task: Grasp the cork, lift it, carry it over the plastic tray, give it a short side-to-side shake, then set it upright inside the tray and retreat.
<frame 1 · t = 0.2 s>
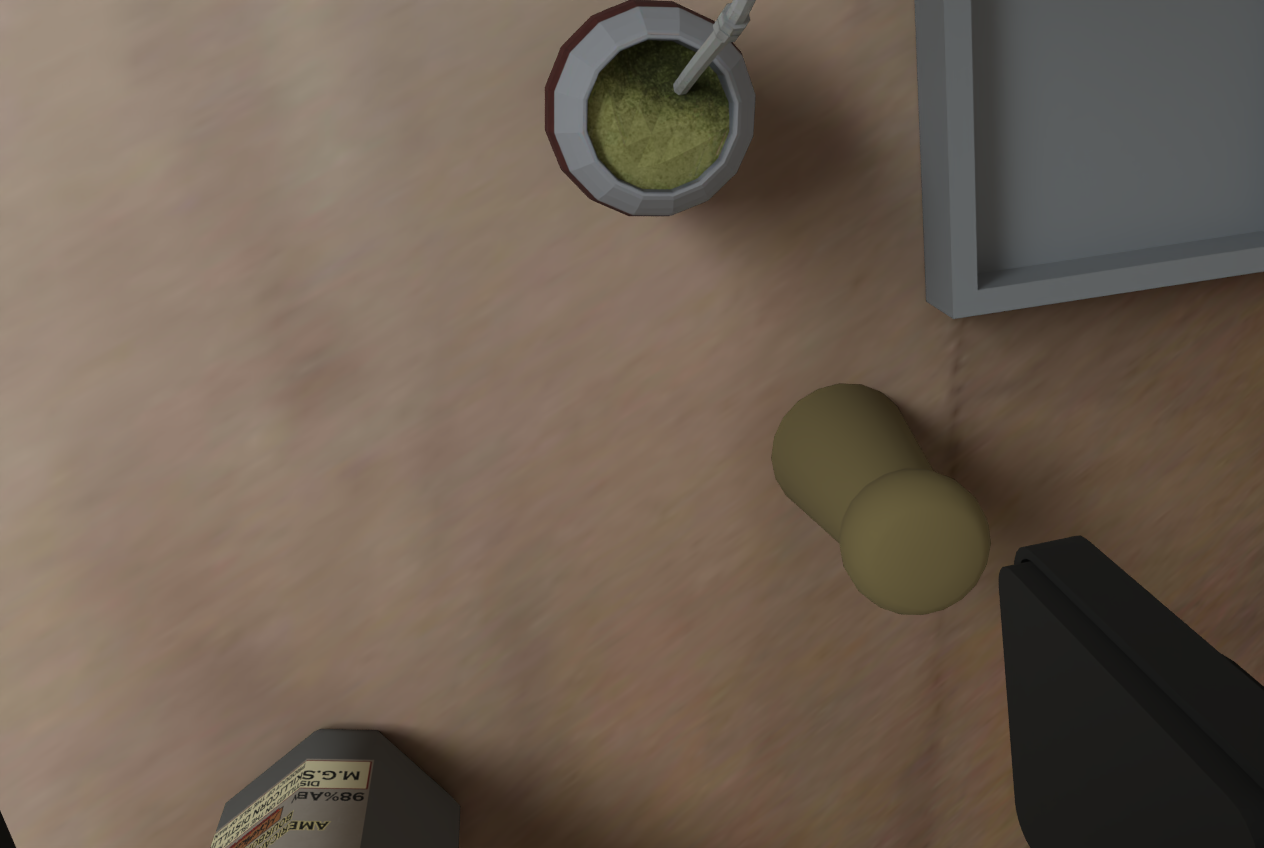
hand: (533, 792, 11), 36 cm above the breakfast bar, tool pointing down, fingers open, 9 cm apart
mate gourd: (632, 87, 44), on the breakfast bar
liquor: (346, 813, 53), on the breakfast bar
cork: (839, 449, 50), on the breakfast bar
tray: (1115, 74, 46), on the breakfast bar
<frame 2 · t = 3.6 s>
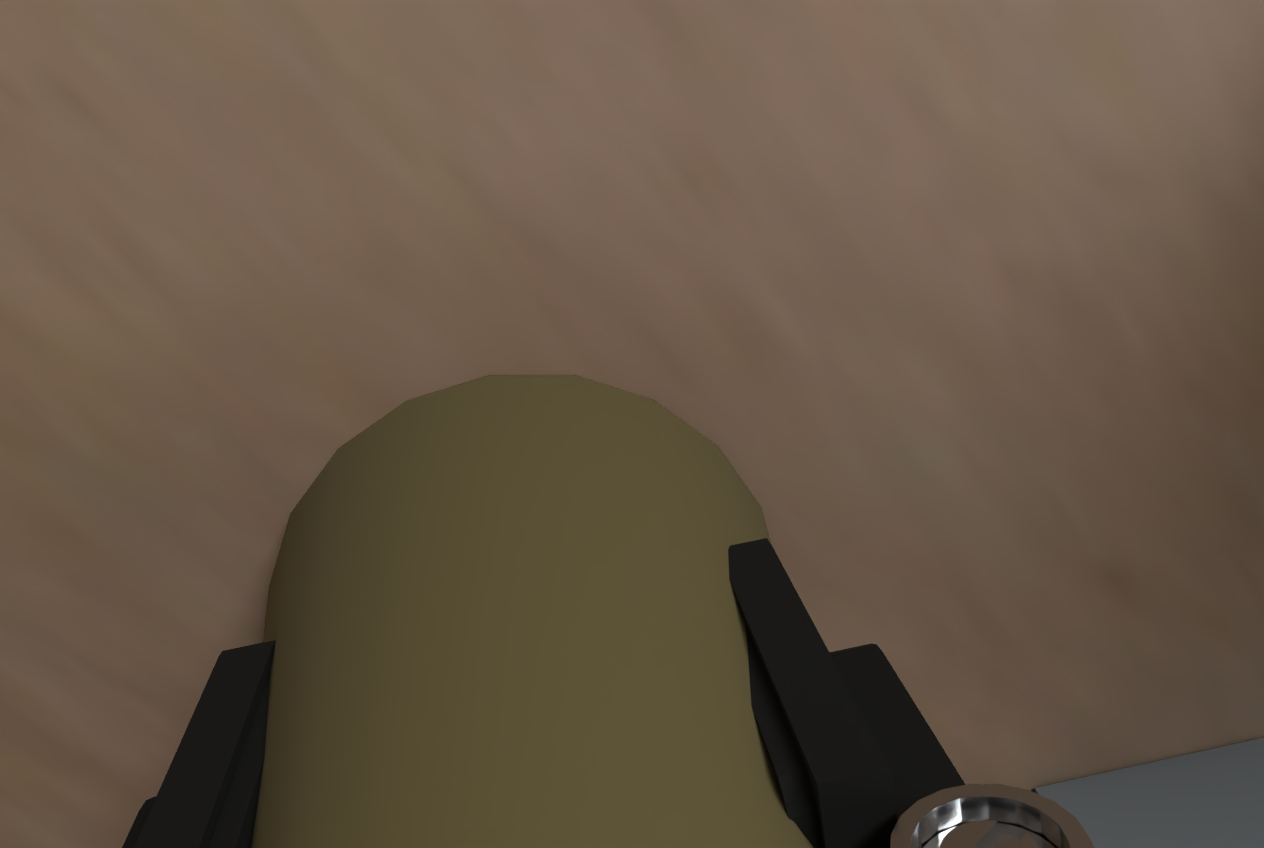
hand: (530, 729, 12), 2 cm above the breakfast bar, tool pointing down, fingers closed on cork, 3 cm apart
cork: (530, 609, 14), on the breakfast bar, touching gripper
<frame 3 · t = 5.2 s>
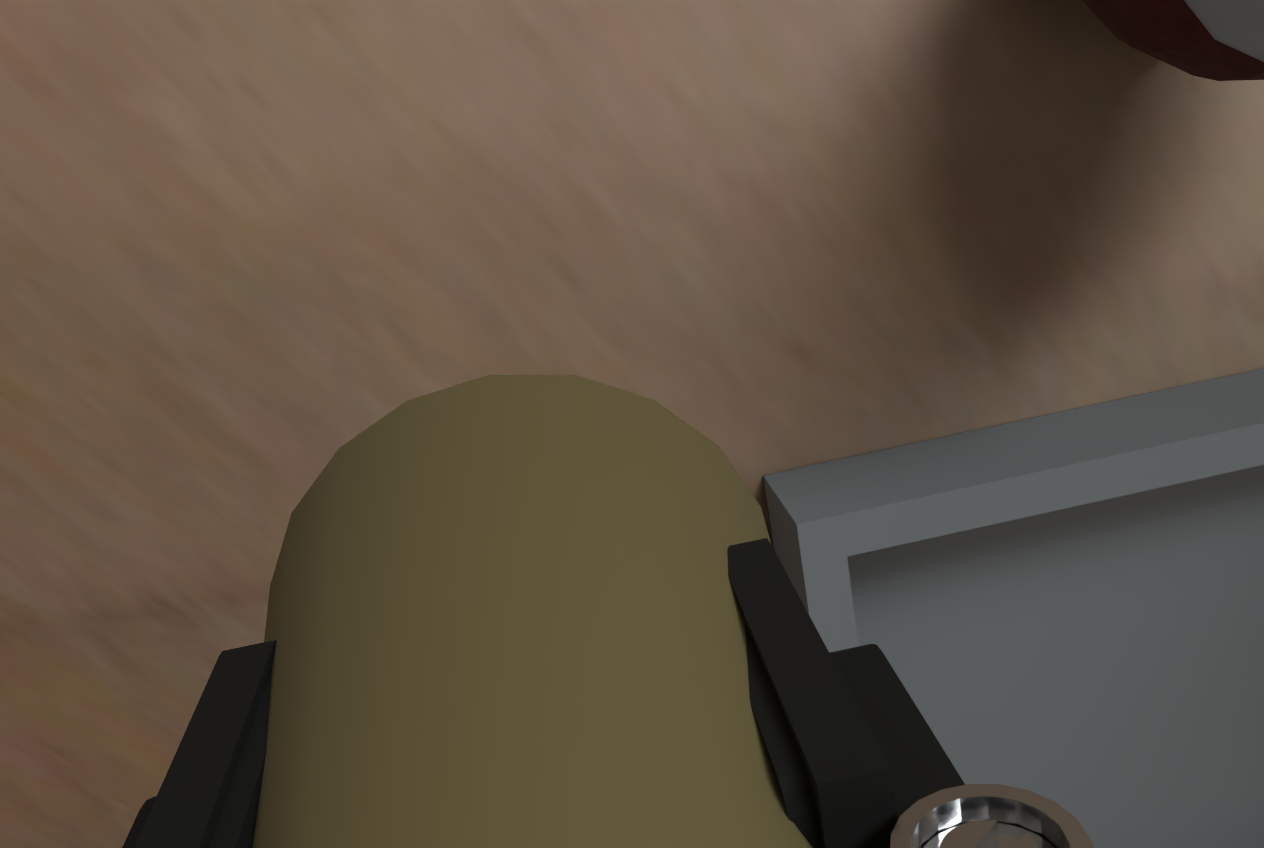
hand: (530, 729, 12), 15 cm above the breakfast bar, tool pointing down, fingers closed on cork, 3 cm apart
cork: (530, 608, 14), point 12 cm above the breakfast bar, touching gripper
tray: (1097, 690, 31), on the breakfast bar
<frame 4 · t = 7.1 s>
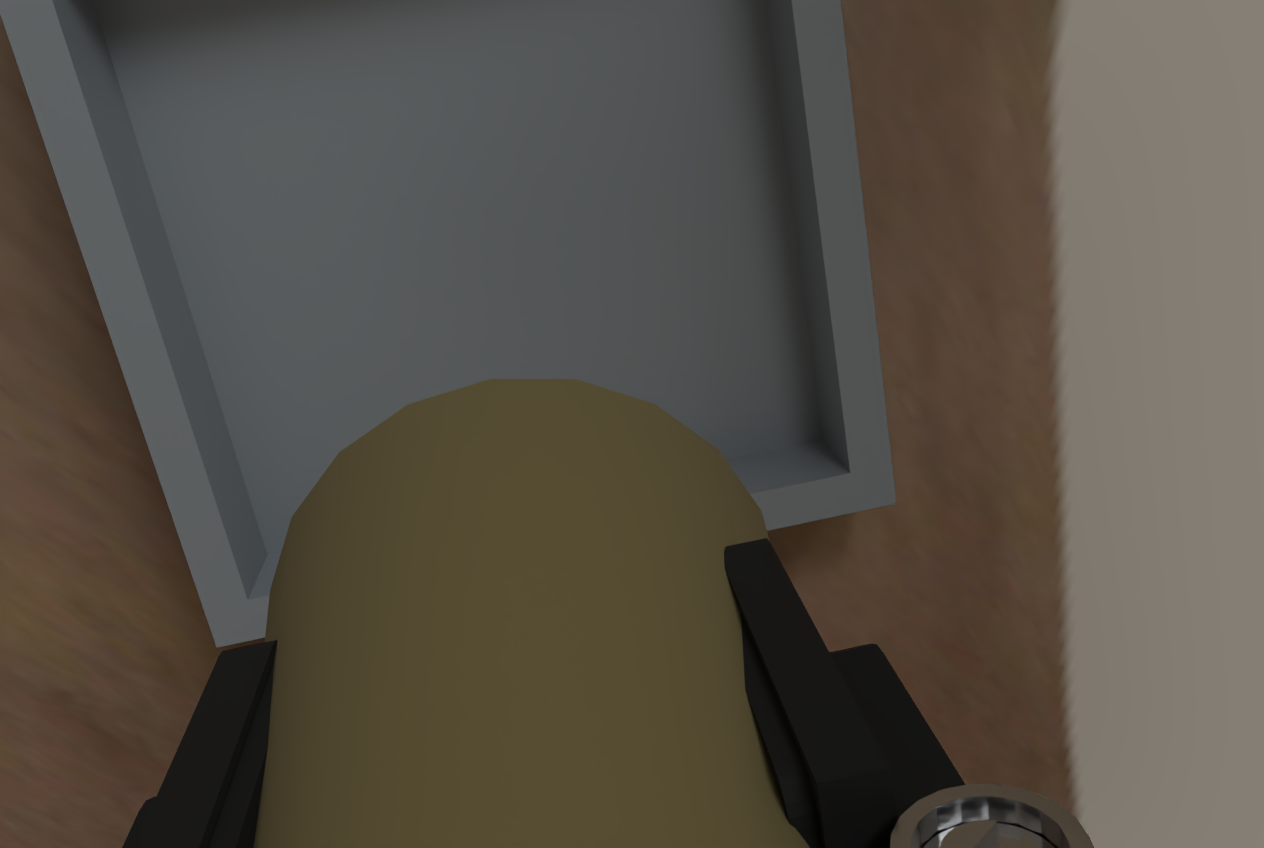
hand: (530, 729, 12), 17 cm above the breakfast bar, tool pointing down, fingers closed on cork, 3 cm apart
cork: (530, 612, 14), point 15 cm above the breakfast bar, touching gripper
tray: (487, 213, 27), on the breakfast bar
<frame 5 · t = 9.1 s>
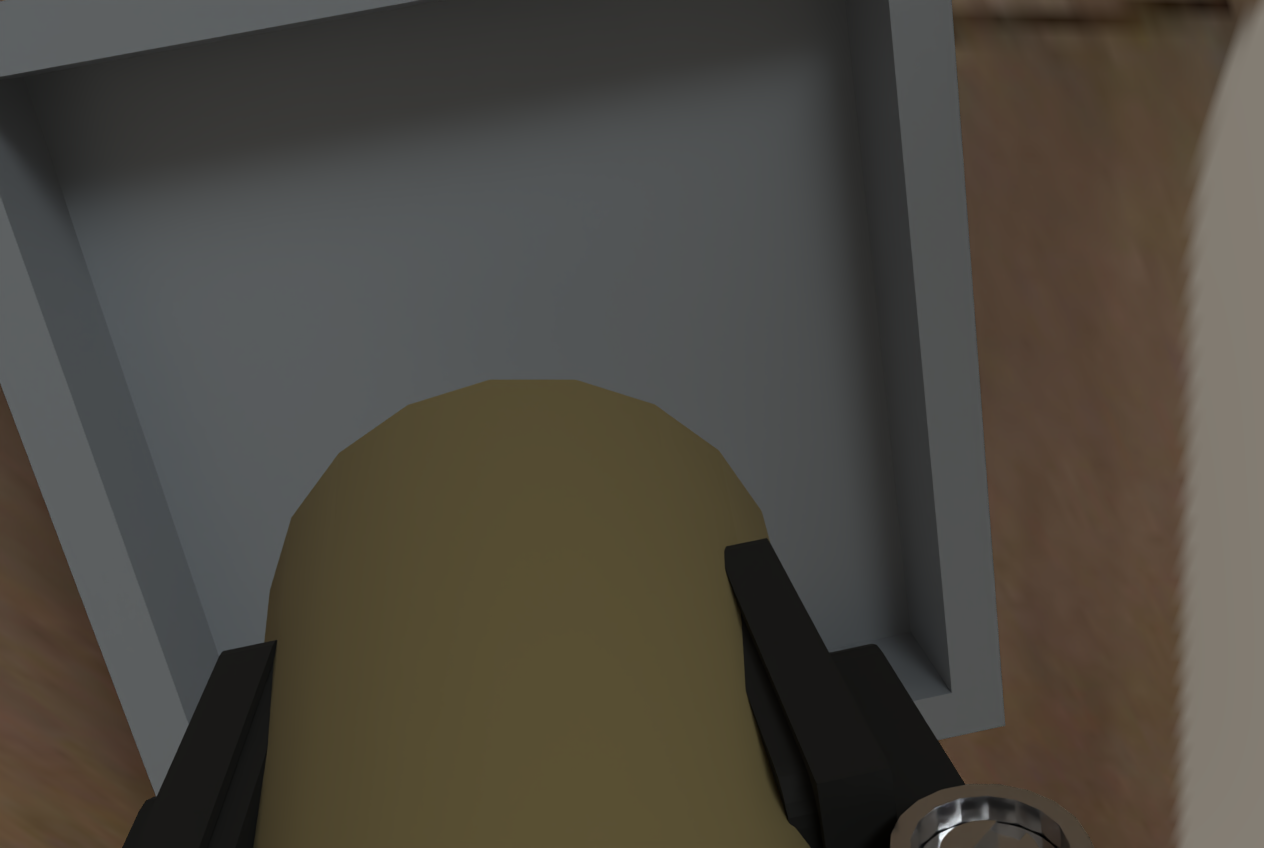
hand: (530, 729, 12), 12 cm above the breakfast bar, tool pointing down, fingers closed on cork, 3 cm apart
cork: (530, 613, 14), point 9 cm above the breakfast bar, touching gripper
tray: (520, 378, 23), on the breakfast bar
when the fingers open (4 cm above the breakfast bar, at t = 10.7 s): cork drops 1 cm, resting on tray.
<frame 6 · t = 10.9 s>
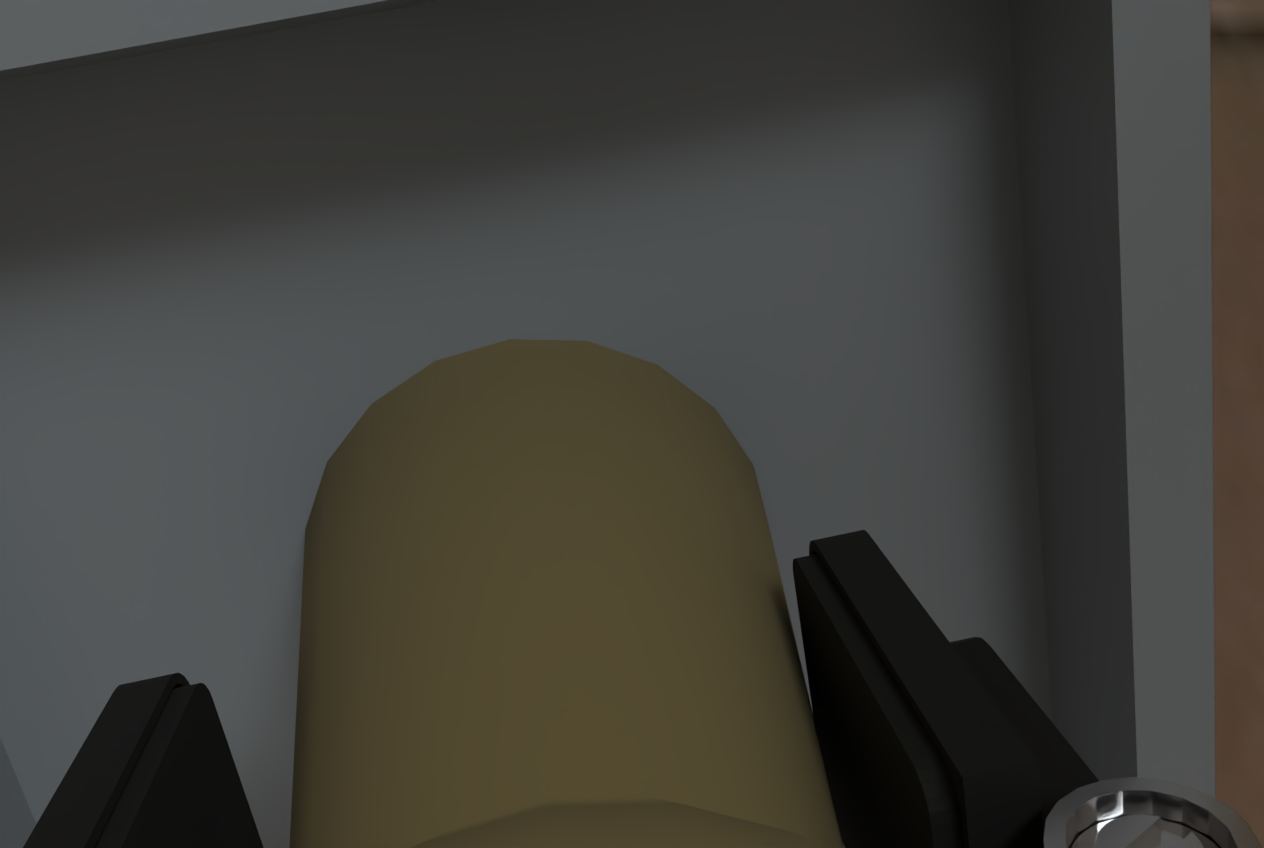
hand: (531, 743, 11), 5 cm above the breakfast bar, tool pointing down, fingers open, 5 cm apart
cork: (541, 556, 15), resting on tray
tray: (518, 552, 16), on the breakfast bar
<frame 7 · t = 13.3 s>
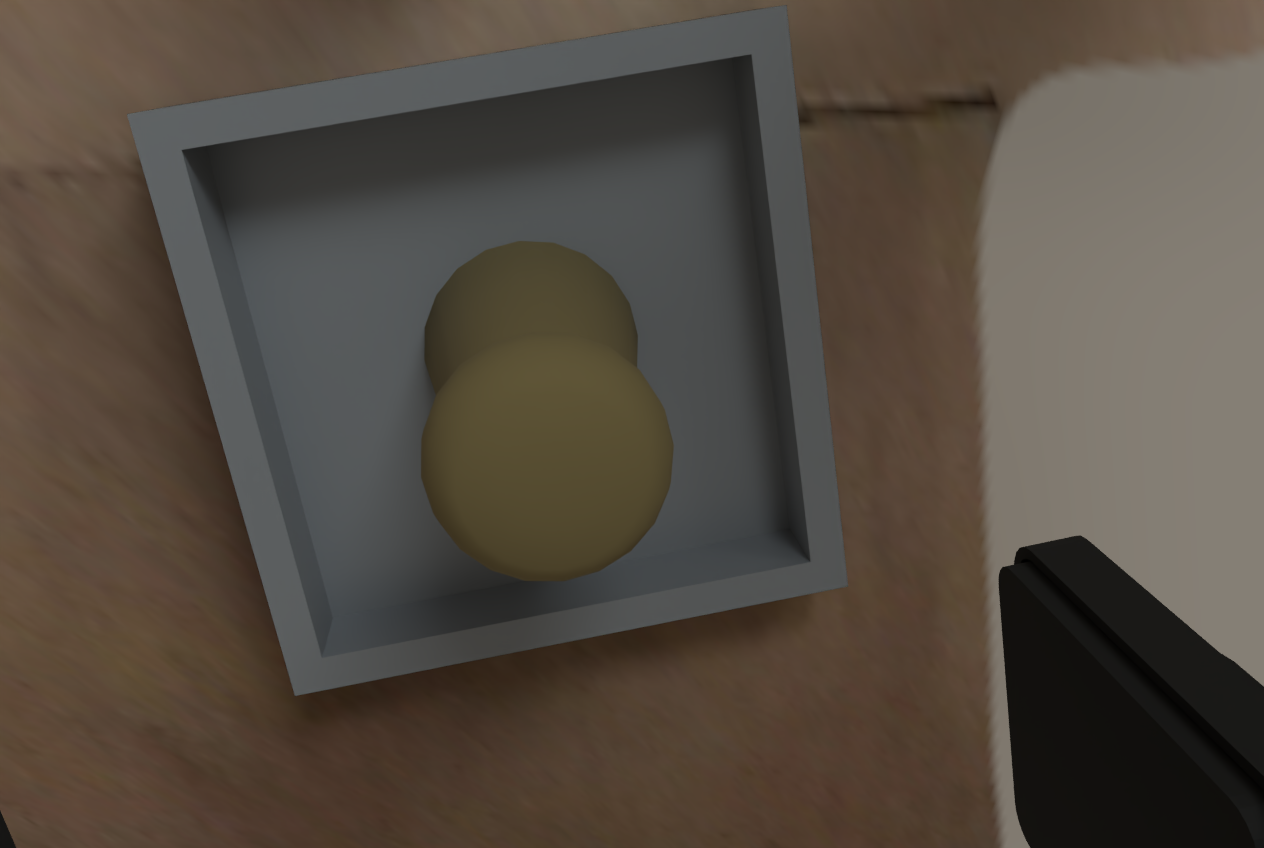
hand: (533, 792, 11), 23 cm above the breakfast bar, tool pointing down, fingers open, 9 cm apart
cork: (531, 345, 33), resting on tray
tray: (520, 346, 33), on the breakfast bar
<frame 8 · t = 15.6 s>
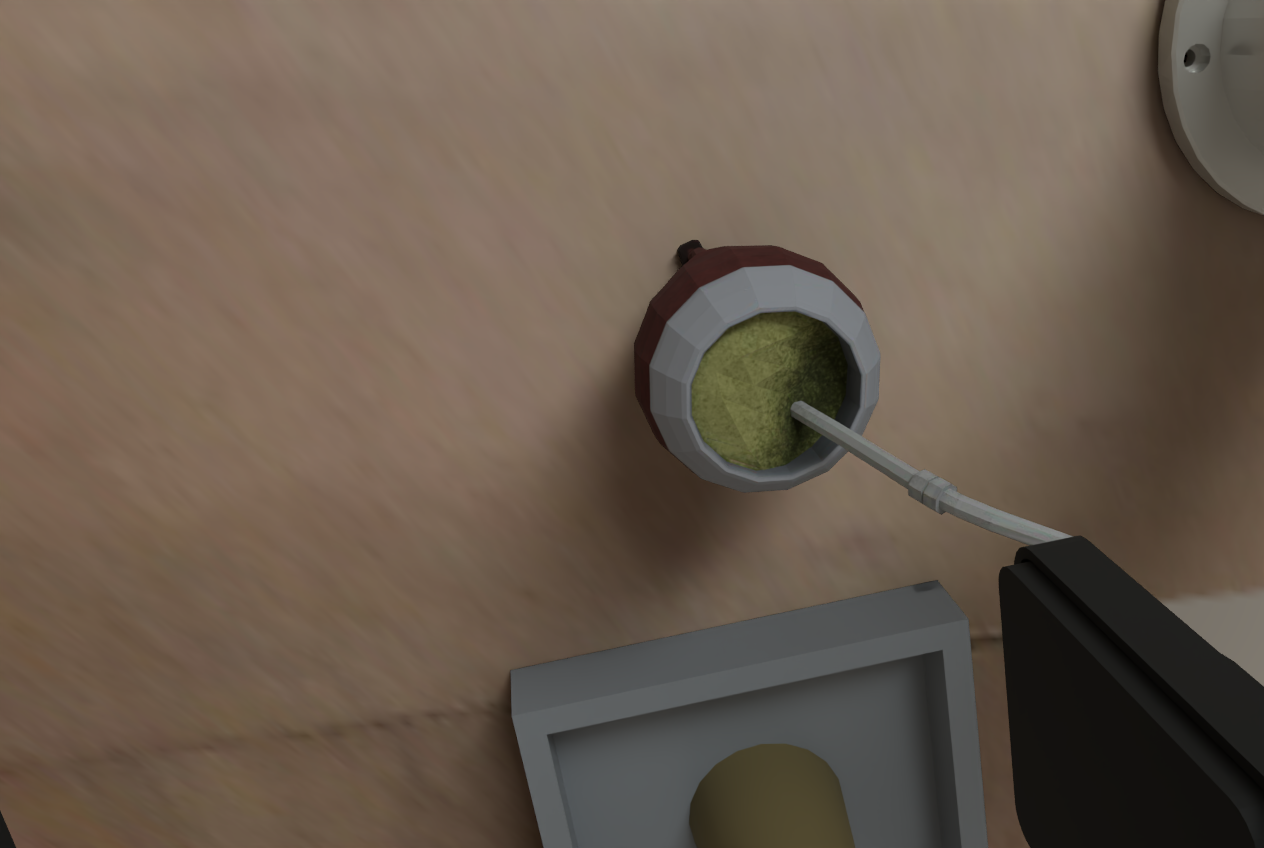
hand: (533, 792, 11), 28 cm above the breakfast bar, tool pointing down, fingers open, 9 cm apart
mate gourd: (735, 325, 39), on the breakfast bar
cork: (765, 807, 45), resting on tray
tray: (755, 804, 45), on the breakfast bar
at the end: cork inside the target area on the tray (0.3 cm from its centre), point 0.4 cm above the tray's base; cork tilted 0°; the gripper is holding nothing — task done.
